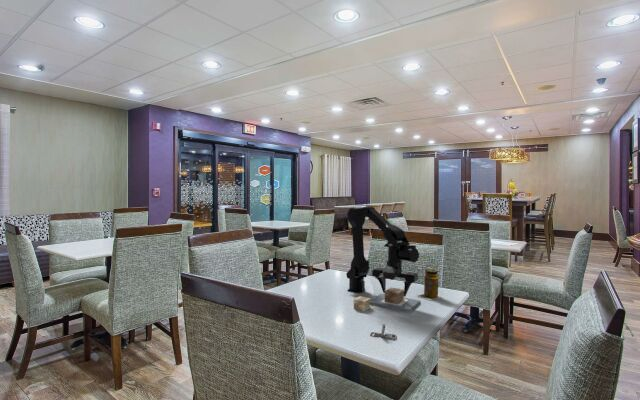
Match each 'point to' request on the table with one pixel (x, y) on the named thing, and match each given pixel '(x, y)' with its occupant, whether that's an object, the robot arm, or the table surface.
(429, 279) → the condiment
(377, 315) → the table surface
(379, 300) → the board
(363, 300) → the birch cube
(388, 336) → the strap clip
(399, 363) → the table surface
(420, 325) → the table surface
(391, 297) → the walnut block
